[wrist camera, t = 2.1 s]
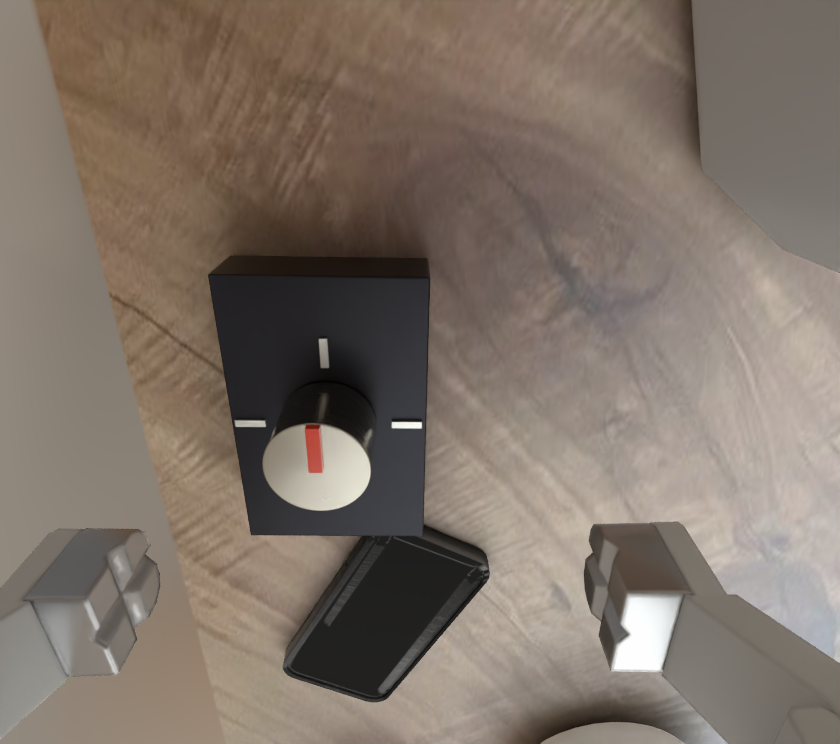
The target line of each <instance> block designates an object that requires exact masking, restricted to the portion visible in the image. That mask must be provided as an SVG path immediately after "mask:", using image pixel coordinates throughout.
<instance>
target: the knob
mask: <svg viewBox="0 0 840 744" xmlns="http://www.w3.org/2000/svg"><path fill="white" fill-rule="evenodd" d="M376 425H377V424H376V417H375V414H374V411H373V409H372V407H371V406H370V404H369V403H368V401H367V400H366V399H365V398H364V397H363V396H362V395H361V394H359V393H358V392H357V391H355V390H353V389H352V388H350V387H347V386H345V385H342V384H338V383H333V382H318V383H313V384H309V385H307V386H304V387H302V388H300V389H299V390H297V391H296V392H294V393H293V394H292V395H291V396H290V397H289V398H288V400H287V401H286V403H285V404H284V407H283V409H282V411H281V414H280V416H279V418H278V421H277V423H276V425H275V428H274V430H273V432H272V435H271V437H270V439H269V442H268V444H267V447H266V449H265V451H264V455H263V462H262V463H263V471H264V475H265V478H266V480H267V482H268V484H269V486H270V487H271V488H272V490H273V491H274V492H275V493H276V494H277V495H278V496H280V497H281V498H282V499H283V500H285V501H287V502H288V503H290V504H292V505H294V506H297V507H300V508H303V509H307V510H313V511H329V510H335V509H339V508H342V507H344V506H347V505H349V504H350V503H352V502H354V501H355V500H356V499H357V498H359V497H360V496H361V495H362V493H363V492H364V491H365V490H366V488H367V486H368V484H369V481H370V478H371V472H372V463H373V454H374V445H375V436H376Z"/></svg>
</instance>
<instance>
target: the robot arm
mask: <svg viewBox="0 0 840 744" xmlns="http://www.w3.org/2000/svg"><path fill="white" fill-rule="evenodd" d="M589 543H590V545H591V548H592V551H593V553H592V554H591V555H590V556H589V557H587V558H586V561H585V569H584V582H585V592H586V597H587V601H588V604H589V608H590V611H591V613H592V614H593V615H594V616H595V617H596V618H597V619H599V620H600V621H601V626H600V631H599V638H600V641H601V644H602V647H603V650H604V653H605V655H606V658H607V661H608V664H609V667H610V670H611V671H624V672H663V673H662V676H663V677H664V678H665V679H666V680H667V681H668V682H669V683H670V684H671V685H672V686H673V687H674V688H675V689H676V690H677V691H678V692H679V693H680V694H681V695H682V696H683V697H684V698H685V699H686V700H687V701H688V703H689V704H690V705H691V706H692V707H693V708H694V709H695V710H696V711H697V712H698V713H699V714H700V715H701V716H702V717H703V718H704V719H705V720H706V721H707V722H708V723H709V724H710V725H711V726H712V727H713V728H714V730H715V731H716V732H717V733H718V734H719V735H720V736H721V737H722V738H723V739H724V740H725V741H726V742H727V743H728V744H840V663H838V662H837V661H835V660H834V659H832V658H831V657H829V656H828V655H826V654H825V653H823V652H822V651H820V650H819V649H817V648H816V647H814V646H813V645H811V644H810V643H808V642H807V641H805V640H804V639H802V638H801V637H799V636H798V635H796V634H795V633H793V632H792V631H790V630H789V629H787V628H786V627H784V626H783V625H781V624H780V623H778V622H777V621H775V620H774V619H772V618H771V617H769V616H768V615H766V614H765V613H763V612H762V611H760V610H759V609H757V608H756V607H754V606H753V605H751V604H750V603H748V602H747V601H745V600H744V599H742V598H741V597H739V596H738V595H727V593H726V592H725V590H724V589H723V587H722V585H721V584H720V582H719V581H718V579H717V577H716V576H715V574H714V573H713V571H712V570H711V568H710V566H709V565H708V563H707V562H706V560H705V559H704V557H703V555H702V554H701V552H700V551H699V549H698V548H697V546H696V544H695V543H694V541H693V540H692V538H691V537H690V535H689V533H688V532H687V530H686V529H685V527H684V526H683V525H682V524H680V523H679V522H654V523H621V524H593V526H592V528H591V531H590V536H589ZM149 547H150V542H149V540H148V537H147V535H146V532H145V531H142V530H139V529H89V528H86V529H57V530H55V531H53V532H50V533H49V534H48V535H47V536H46V537H45V538H44V539H43V541H42V542H41V543H40V544H39V545H38V546H37V547H36V548H35V550H34V551H33V552H32V553H31V554H30V555H29V556H28V558H27V559H26V560H25V561H24V562H23V563H22V564H21V565H20V567H19V568H18V569H17V570H16V571H15V572H14V573H13V575H12V576H11V577H10V578H9V579H8V580H7V581H6V582H5V584H4V585H3V586H2V587H1V588H0V739H1V738H2V737H3V736H5V735H6V734H7V733H8V732H9V731H10V730H11V729H13V728H14V727H15V726H16V725H17V724H18V723H19V722H20V721H22V720H23V719H24V718H25V717H26V716H27V715H28V714H29V713H31V712H32V711H33V710H34V709H35V708H36V707H37V706H38V705H40V704H41V703H42V702H43V701H44V700H45V699H46V698H47V697H49V696H50V695H51V694H52V693H53V692H54V691H55V690H56V689H58V688H59V687H60V686H61V685H62V684H63V683H64V682H65V681H67V677H75V676H101V675H118V674H119V672H120V670H121V668H122V666H123V665H124V663H125V661H126V659H127V657H128V655H129V653H130V651H131V650H132V648H133V646H134V644H135V642H136V641H137V637H136V633H135V629H134V628H135V627H137V626H138V625H139V624H141V623H142V622H143V621H145V620H146V619H147V618H148V617H149V616H150V614H151V612H152V610H153V608H154V606H155V604H156V602H157V598H158V593H159V589H160V573H159V570H158V567H157V564H156V563H155V562H154V561H153V560H151V559H150V558H149V557H148V556H147V555H145V554H146V552H147V550H148V549H149Z"/></svg>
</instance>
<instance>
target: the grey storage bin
mask: <svg viewBox="0 0 840 744" xmlns="http://www.w3.org/2000/svg"><path fill="white" fill-rule="evenodd" d="M691 2H692V19H693V36H694V53H695V69H696V86H697V103H698V119H699V136H700V153H701V169H702V171H703V172H704V173H705V174H706V175H707V176H708V177H709V178H710V179H711V180H712V181H714V182H715V183H716V184H717V185H718V186H719V187H720V188H721V189H722V190H723V191H724V192H725V193H726V194H727V195H728V196H729V197H730V198H731V199H732V200H733V201H734V202H735V203H736V204H737V205H738V206H739V207H740V208H741V209H742V210H743V211H744V212H745V213H746V214H747V215H748V216H749V217H750V218H751V219H752V220H753V221H754V222H755V223H756V224H757V225H758V226H759V227H760V228H761V229H762V230H763V231H764V232H765V233H766V234H767V235H768V236H769V237H770V238H771V239H772V240H773V241H774V242H775V243H776V244H777V245H778V246H779V247H780V248H781V249H783V250H785V251H787V252H790V253H792V254H794V255H797V256H799V257H802V258H804V259H807V260H809V261H812V262H814V263H817V264H819V265H822V266H824V267H827V268H829V269H831V270H834V271H836V272H839V273H840V0H691Z"/></svg>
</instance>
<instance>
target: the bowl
mask: <svg viewBox="0 0 840 744" xmlns="http://www.w3.org/2000/svg"><path fill="white" fill-rule="evenodd" d="M540 744H685V743H684V742H682V741H681V740H679V739H678V738H676V737H675V736H673V735H671V734H669V733H667V732H665V731H663V730H661V729H658V728H655V727H652V726H649V725H644V724H637V723H631V722H607V723H596V724H590V725H585V726H581V727H576V728H573V729H570V730H567V731H564V732H561V733H559V734H557V735H554V736H552V737H550V738H548V739H546V740H544V741H543V742H542V743H540Z"/></svg>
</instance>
